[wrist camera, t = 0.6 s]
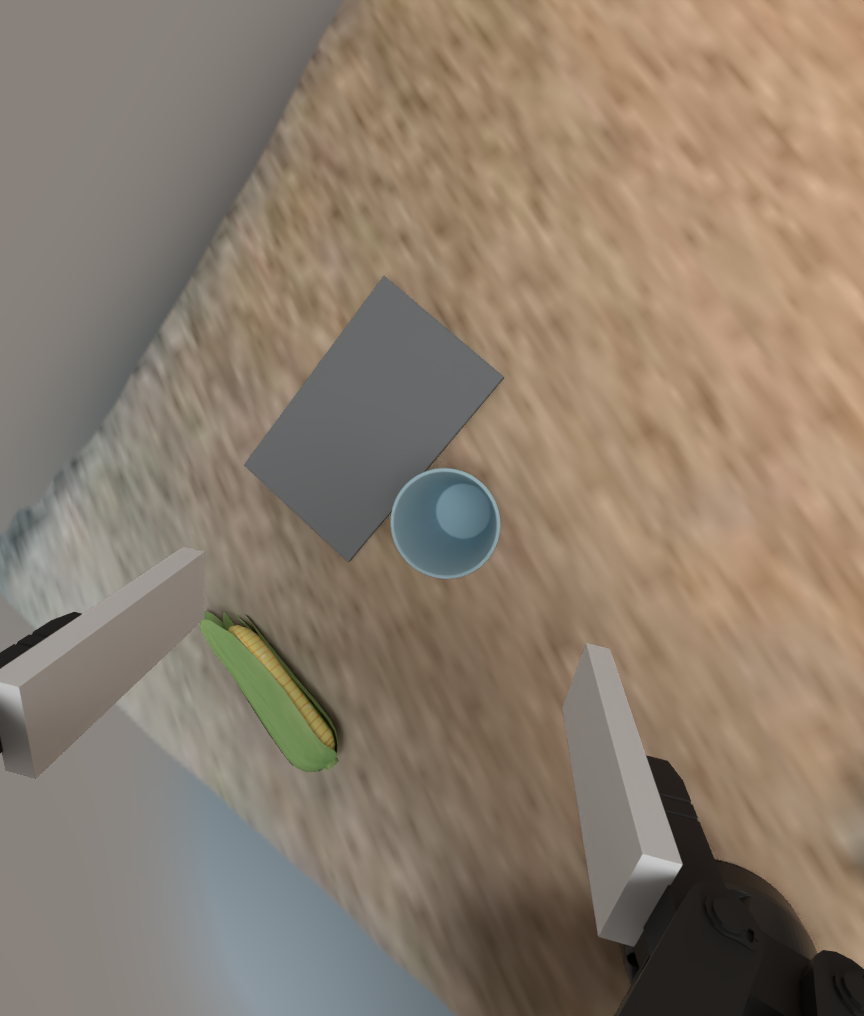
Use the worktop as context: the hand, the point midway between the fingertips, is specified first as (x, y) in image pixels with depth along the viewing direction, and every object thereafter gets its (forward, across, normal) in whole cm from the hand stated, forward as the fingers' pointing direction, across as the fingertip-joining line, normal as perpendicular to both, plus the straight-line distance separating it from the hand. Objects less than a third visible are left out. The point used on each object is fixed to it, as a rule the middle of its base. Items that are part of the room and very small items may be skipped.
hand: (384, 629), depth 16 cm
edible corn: (+24, +13, +26) cm, 37 cm away
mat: (+29, +9, 0) cm, 30 cm away
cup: (+27, -2, +5) cm, 27 cm away
